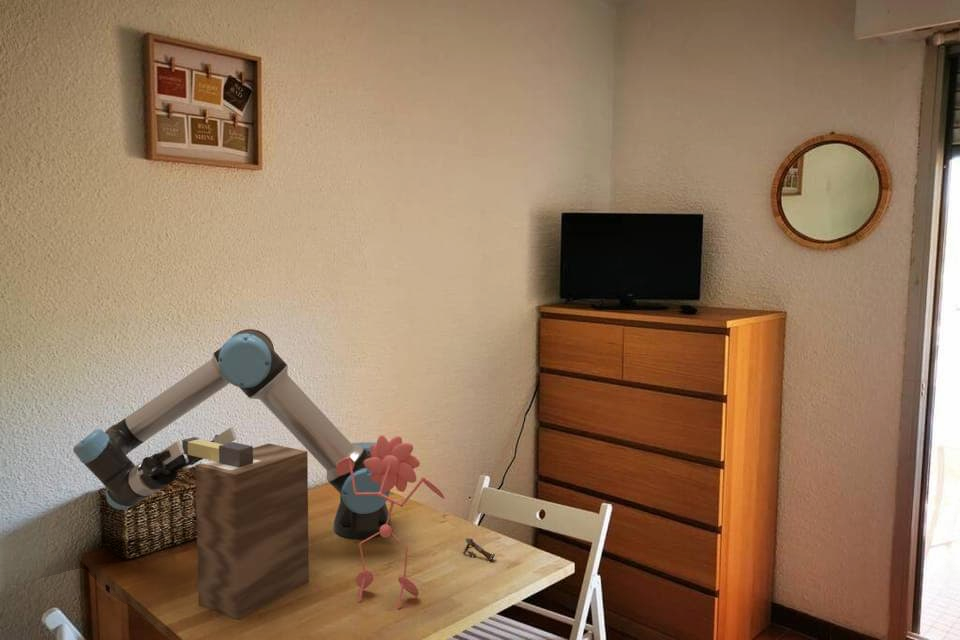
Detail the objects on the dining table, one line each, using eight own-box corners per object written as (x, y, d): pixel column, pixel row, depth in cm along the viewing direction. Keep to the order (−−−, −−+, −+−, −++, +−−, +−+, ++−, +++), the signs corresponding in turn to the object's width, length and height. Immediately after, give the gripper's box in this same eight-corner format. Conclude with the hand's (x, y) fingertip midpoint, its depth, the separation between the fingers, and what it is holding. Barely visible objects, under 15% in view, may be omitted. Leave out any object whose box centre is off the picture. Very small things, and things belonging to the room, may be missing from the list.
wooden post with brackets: (462, 549, 182) (468, 534, 181) (488, 568, 179) (495, 553, 178) (458, 552, 180) (465, 537, 179) (485, 571, 177) (492, 556, 176)
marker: (253, 463, 152) (252, 446, 152) (239, 467, 149) (239, 450, 149) (195, 450, 161) (194, 434, 161) (181, 453, 158) (180, 437, 158)
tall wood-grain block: (308, 581, 165) (307, 450, 162) (238, 619, 148) (235, 473, 145) (270, 569, 171) (268, 442, 168) (198, 604, 154) (195, 463, 151)
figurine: (434, 617, 150) (437, 448, 147) (322, 598, 158) (322, 437, 155) (459, 586, 164) (462, 432, 162) (356, 570, 172) (356, 423, 169)
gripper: (205, 475, 176) (259, 443, 166) (107, 505, 155) (162, 471, 144) (194, 446, 177) (247, 412, 167) (96, 472, 156) (149, 436, 146)
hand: (208, 439), depth 156 cm, fingers open, 13 cm apart
